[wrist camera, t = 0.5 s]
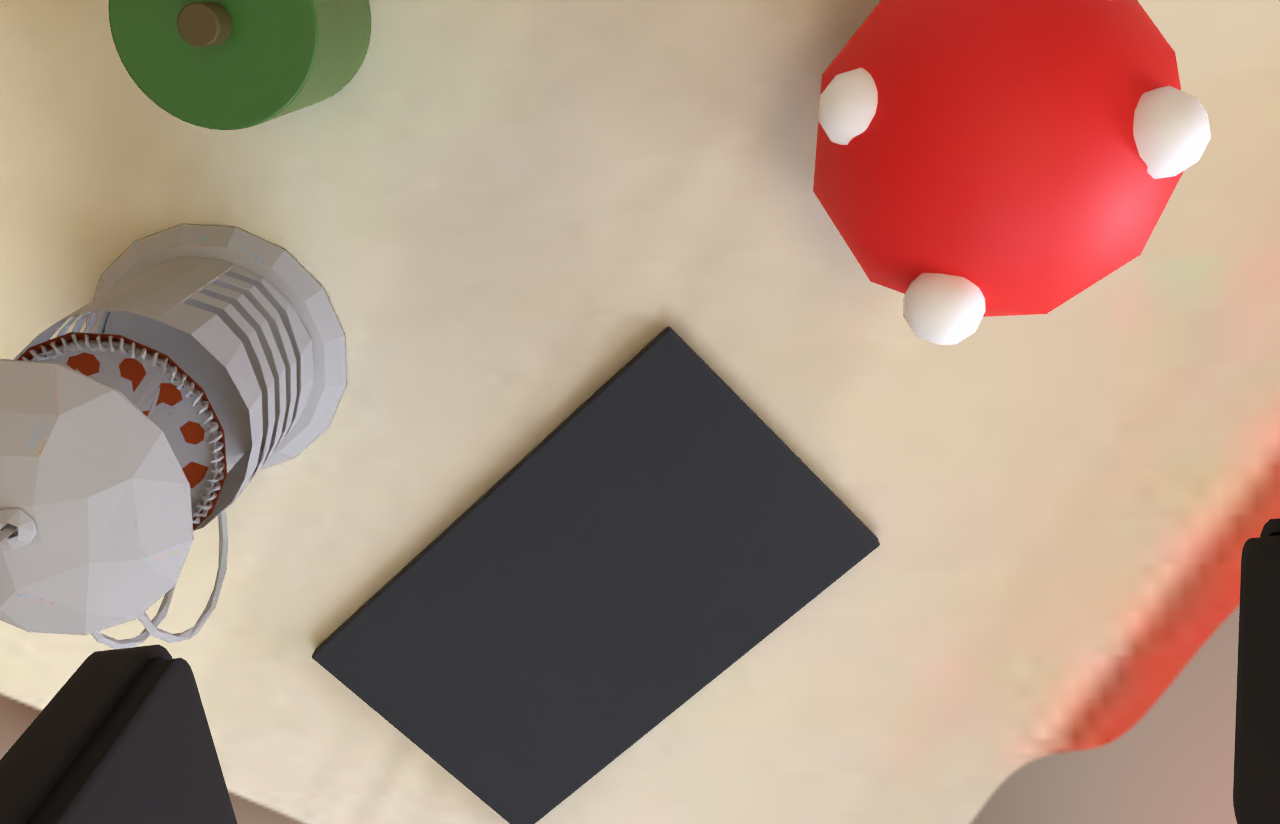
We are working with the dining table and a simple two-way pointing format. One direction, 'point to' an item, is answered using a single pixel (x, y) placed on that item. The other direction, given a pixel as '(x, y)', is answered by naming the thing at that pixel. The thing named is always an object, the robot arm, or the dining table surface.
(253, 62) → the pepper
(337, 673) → the mat
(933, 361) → the dining table surface
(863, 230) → the mushroom
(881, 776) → the dining table surface
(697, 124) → the dining table surface
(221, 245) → the french press
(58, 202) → the dining table surface
